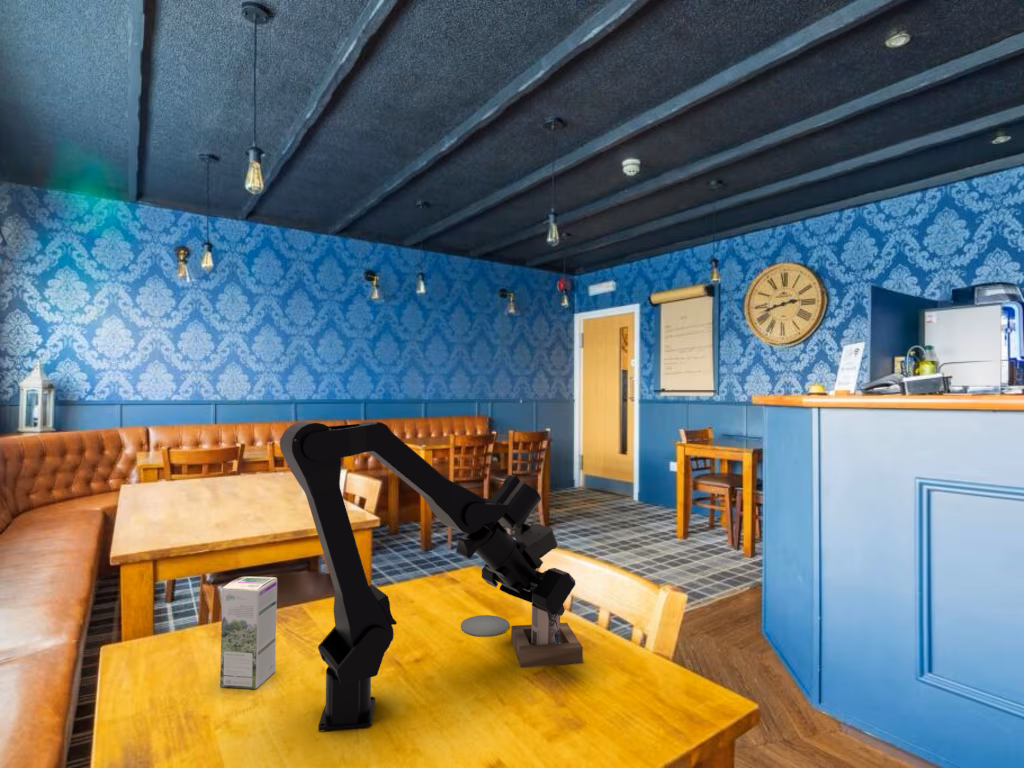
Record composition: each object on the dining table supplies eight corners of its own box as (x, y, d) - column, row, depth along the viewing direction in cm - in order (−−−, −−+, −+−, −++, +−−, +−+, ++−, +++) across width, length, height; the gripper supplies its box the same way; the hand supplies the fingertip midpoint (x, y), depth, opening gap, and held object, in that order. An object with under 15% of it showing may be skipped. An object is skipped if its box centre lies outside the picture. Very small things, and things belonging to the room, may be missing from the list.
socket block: (582, 662, 88) (582, 647, 88) (520, 667, 86) (520, 650, 86) (567, 636, 98) (567, 622, 98) (511, 640, 96) (511, 625, 96)
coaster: (512, 635, 98) (512, 632, 98) (462, 638, 97) (462, 635, 97) (505, 616, 107) (505, 614, 107) (459, 618, 106) (459, 616, 106)
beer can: (557, 659, 89) (559, 584, 89) (528, 656, 90) (530, 581, 90) (561, 646, 94) (562, 575, 94) (533, 643, 94) (535, 572, 95)
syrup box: (277, 671, 85) (279, 575, 85) (255, 691, 79) (257, 588, 79) (241, 669, 85) (244, 574, 86) (217, 688, 79) (220, 586, 80)
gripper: (566, 520, 83) (617, 582, 89) (496, 502, 98) (544, 556, 104) (524, 582, 78) (581, 644, 84) (457, 553, 93) (509, 607, 99)
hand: (552, 608), depth 93 cm, fingers closed on beer can, 5 cm apart
